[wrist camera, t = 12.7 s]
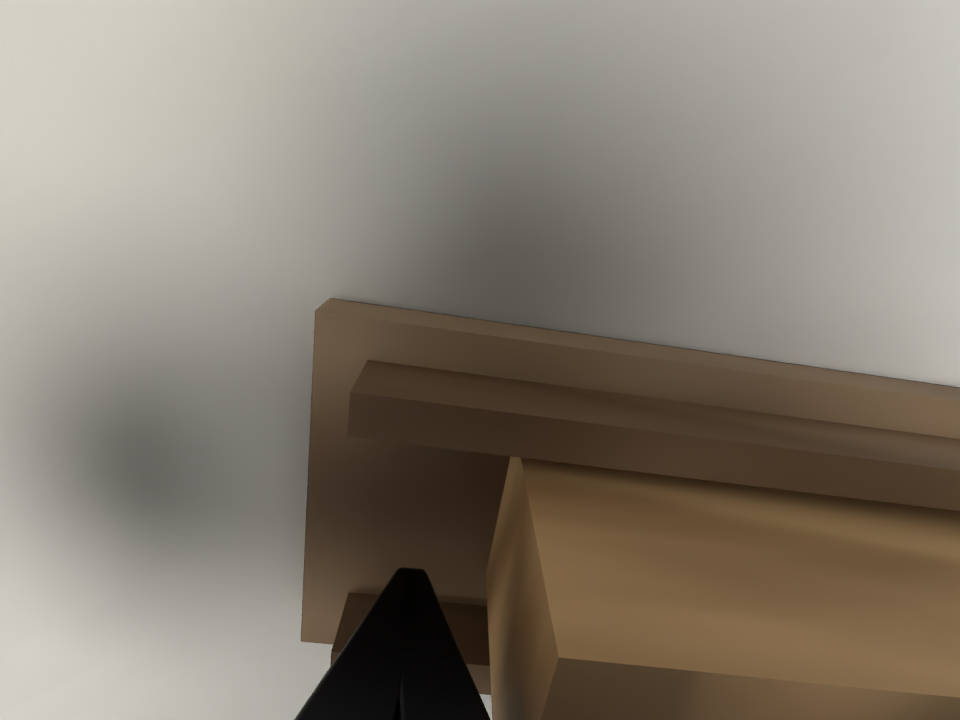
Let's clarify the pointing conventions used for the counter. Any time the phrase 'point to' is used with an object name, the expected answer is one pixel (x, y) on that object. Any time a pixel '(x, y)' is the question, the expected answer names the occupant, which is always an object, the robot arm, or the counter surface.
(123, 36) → the counter surface
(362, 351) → the board
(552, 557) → the wooden block
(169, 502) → the counter surface
